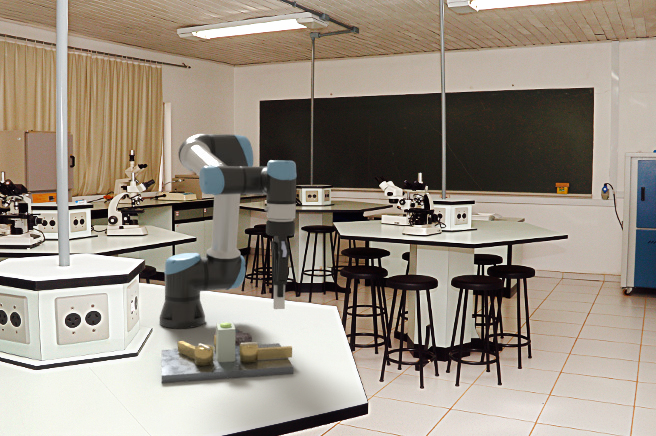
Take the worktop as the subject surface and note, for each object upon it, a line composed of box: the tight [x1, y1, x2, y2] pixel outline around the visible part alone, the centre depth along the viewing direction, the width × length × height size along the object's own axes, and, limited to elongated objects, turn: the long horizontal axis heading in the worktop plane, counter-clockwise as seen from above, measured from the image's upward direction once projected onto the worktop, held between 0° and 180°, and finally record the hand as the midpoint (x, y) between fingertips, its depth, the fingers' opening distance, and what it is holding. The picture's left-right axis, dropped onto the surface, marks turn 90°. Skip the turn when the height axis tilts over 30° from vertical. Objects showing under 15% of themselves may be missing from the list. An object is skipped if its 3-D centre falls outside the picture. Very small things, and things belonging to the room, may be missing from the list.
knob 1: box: [177, 340, 214, 365], centre depth 166 cm, size 14×5×5 cm, turn 45°
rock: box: [213, 328, 253, 346], centre depth 185 cm, size 8×11×5 cm
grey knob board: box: [160, 335, 294, 384], centre depth 167 cm, size 20×34×6 cm, turn 105°
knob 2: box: [239, 341, 293, 362], centre depth 167 cm, size 14×5×5 cm, turn 106°
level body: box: [215, 322, 236, 362], centre depth 167 cm, size 6×5×10 cm
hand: (279, 308), depth 160 cm, fingers closed
